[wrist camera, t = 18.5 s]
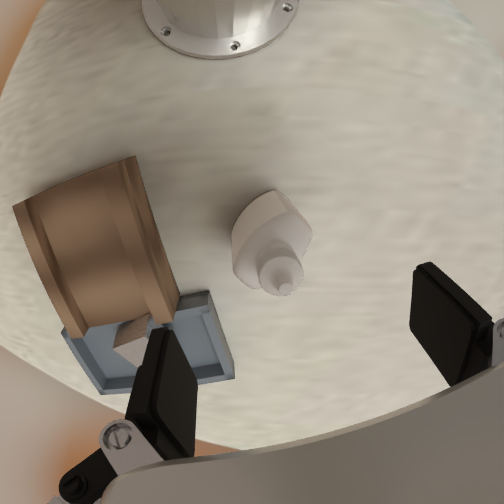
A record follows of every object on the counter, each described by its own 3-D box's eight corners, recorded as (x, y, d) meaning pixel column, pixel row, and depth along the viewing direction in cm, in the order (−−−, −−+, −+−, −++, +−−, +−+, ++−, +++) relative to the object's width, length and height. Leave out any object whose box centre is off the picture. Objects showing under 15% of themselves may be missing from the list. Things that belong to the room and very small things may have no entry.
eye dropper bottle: (220, 205, 26) (215, 268, 14) (285, 184, 25) (331, 231, 14) (237, 252, 27) (245, 339, 16) (299, 232, 27) (346, 306, 16)
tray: (69, 319, 29) (60, 332, 26) (209, 290, 28) (207, 304, 26) (106, 380, 32) (100, 394, 30) (234, 362, 32) (234, 378, 30)
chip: (117, 327, 26) (112, 348, 24) (149, 313, 25) (144, 336, 23) (145, 349, 28) (142, 371, 26) (177, 338, 28) (175, 360, 26)
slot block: (38, 193, 23) (12, 206, 19) (135, 155, 23) (116, 162, 19) (87, 312, 28) (71, 338, 24) (180, 293, 28) (173, 321, 24)
